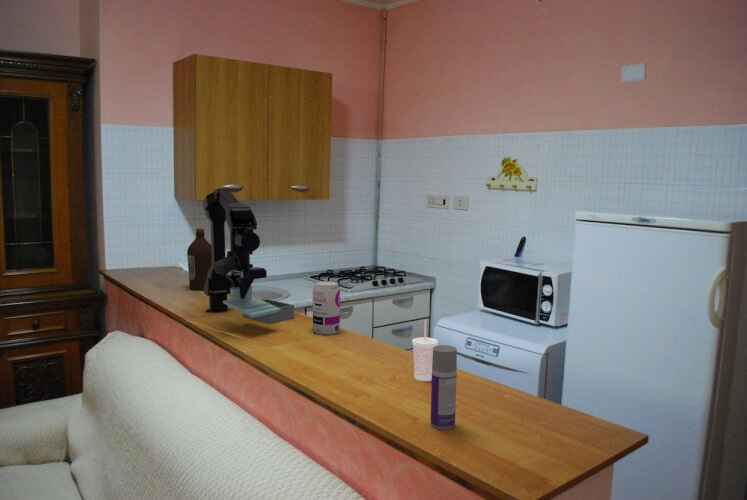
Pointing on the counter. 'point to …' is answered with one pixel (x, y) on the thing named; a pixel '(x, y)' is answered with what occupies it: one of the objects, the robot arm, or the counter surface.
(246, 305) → the lid
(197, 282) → the olive oil
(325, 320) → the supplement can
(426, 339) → the beverage cup
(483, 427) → the counter surface
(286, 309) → the tub
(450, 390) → the container
